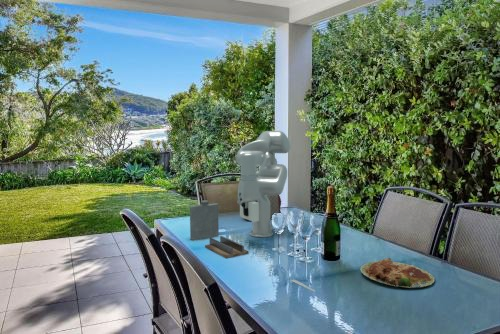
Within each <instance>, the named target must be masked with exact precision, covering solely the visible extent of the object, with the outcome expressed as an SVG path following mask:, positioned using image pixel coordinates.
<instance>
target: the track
mask: <svg viewBox="0 0 500 334" xmlns="http://www.w3.org/2000/svg"><path fill="white" fill-rule="evenodd" d="M204 246H205V247H204V248H206V249H208V250H209V251H211V252H213V253H214V254H217V255H218V256H221V257H223V258H224V259H229V258H236V257H239V256H244V255H249V250H247V249H245V245H243V244H241V243H239V242H236V241H234V240H232V239H230V238H227V237H225V236H222V235H220V236H219V240H217V239H214V238H209V243H208V244H205V245H204Z"/></svg>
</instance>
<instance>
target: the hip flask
mask: <svg viewBox="0 0 500 334" xmlns="http://www.w3.org/2000/svg"><path fill="white" fill-rule="evenodd" d="M200 202H201V204H195V205H190V206H189V232H190V236H189V238H190V241H202V240H207V239H210V238H213V239H214V238H217V237H220V236H219V233H220V231H219V229H220V227H219V226H220V225H219V203H216V202H215V203H209V200H206V199H205V200H201V201H200Z"/></svg>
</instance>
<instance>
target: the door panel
mask: <svg viewBox="0 0 500 334" xmlns="http://www.w3.org/2000/svg"><path fill="white" fill-rule="evenodd" d="M241 202H242V201H241ZM247 208H248V216H245V215H244V213H243V207H242V206H241V205H240V204H239V217H240V218H243V219H245V220H248V221H249V220H250V222H252V223H253V222H256V221H259V203H258V202H255V201H250V202H248V204H247Z"/></svg>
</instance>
